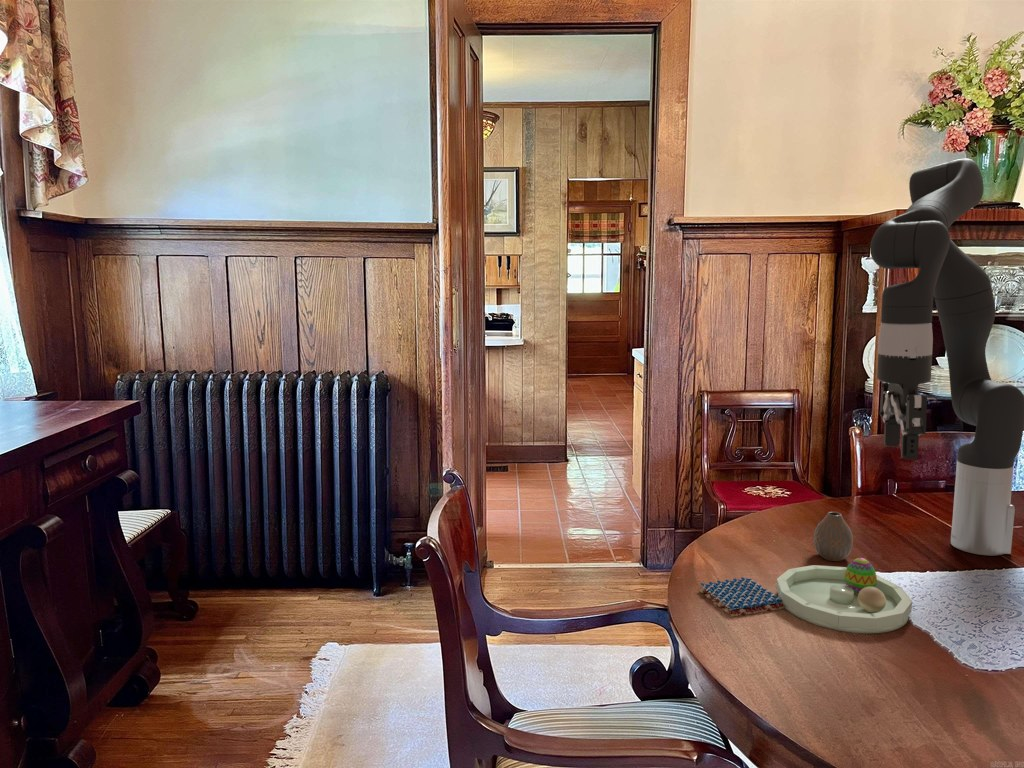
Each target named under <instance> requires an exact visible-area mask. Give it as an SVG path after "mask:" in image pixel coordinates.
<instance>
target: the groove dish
mask: <svg viewBox="0 0 1024 768" xmlns="http://www.w3.org/2000/svg"><path fill="white" fill-rule="evenodd" d="M846 569H847V567H846V566H832V565H831V566H830V565H815V564H814V565H813V564H812V565H806V566H801V567H799V566H798V567H793V568H789V569H787V570H785V572H783V573H782V574H781V575H780V576H779V577H777V578H776V592H777V597H778V598H781V600H782V604H783V606H784V608H783V609H785V611H788V613H790V614H791V615H793V616H795V617H796V618H799V619H801V620H803V621H804V622H808V623H810V624H811V625H815V626H818V627H822V628H825V629H828V630H829V629H830V630H834V631H840V632H844V633H853V634H882V633H889V632H893V631H896V630H898V629H901V628H902V627H904V626H905V625H906V624H907V623H908V622H909V621H908V620H909V616H910V615H911V613H912V610H913V600H912V599H911V598H910V595H908V593H907V591H905V589H904V588H903V587H902V586H900V585H898V584H897V583H894V582H891V580H888V579H887V578H885V577H881V576H880V575H878V574H876V576H877V584H876V588H878V589H879V590H881V591H882V592H883V594H884V596H885V598H886V605H885V607H884V608H883V609H882V610H881V611H880V612H877V613H871V612H867V611H865V610H864V609H863V608H862V607H861V606H860V604H859V602H858V595H855V594H854V590H853V589H852V588H850V587H847V586H846V584H845V571H846ZM780 603H781V602H780Z"/></svg>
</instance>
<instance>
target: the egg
mask: <svg viewBox="0 0 1024 768" xmlns="http://www.w3.org/2000/svg"><path fill="white" fill-rule="evenodd" d="M846 568H847V569H846V571H845V584H846V586H847V587H850V588H852V589H853V590H854V594H855V595H858V594H859V592H860V591H861V590H862V589H863V588H865V587H875V588H876V584H877V576H876V575H877V573H876V570H875V567H874V566H873V565H872V563H871V562H870V561H869V560H867V559H866V558H863V557H857V558H854V559H853V560H852V561H851V562H849V564H848V565H847V567H846Z"/></svg>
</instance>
